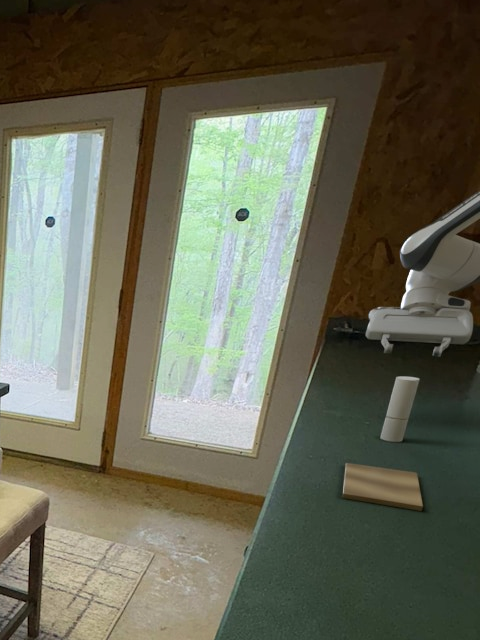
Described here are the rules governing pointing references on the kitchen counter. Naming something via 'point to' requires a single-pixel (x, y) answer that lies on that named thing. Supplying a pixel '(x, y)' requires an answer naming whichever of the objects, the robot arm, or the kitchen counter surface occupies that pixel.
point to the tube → (399, 408)
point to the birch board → (382, 486)
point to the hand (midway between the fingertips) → (411, 353)
